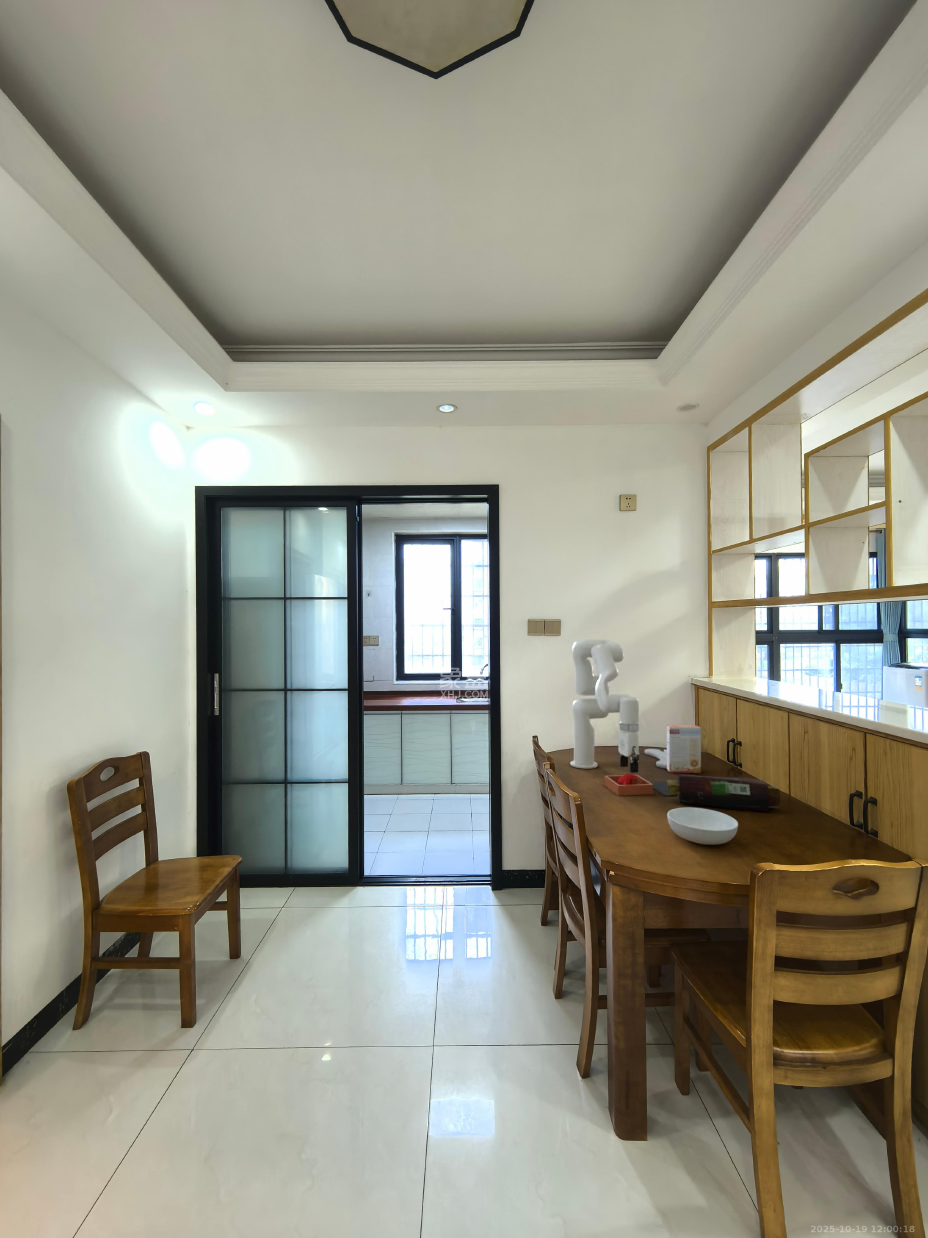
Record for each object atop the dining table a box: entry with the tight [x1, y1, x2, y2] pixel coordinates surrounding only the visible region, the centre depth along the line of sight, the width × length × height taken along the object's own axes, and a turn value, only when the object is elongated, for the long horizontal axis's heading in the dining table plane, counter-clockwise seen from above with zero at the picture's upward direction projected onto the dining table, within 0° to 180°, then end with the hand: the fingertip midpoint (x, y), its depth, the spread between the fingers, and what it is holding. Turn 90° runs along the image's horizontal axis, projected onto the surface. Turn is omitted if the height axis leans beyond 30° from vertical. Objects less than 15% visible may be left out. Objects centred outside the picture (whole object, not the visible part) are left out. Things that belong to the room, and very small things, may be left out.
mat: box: [649, 781, 677, 797], centre depth 242 cm, size 18×14×1 cm
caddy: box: [603, 774, 654, 797], centre depth 241 cm, size 15×15×4 cm
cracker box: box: [666, 724, 702, 774], centre depth 270 cm, size 14×6×21 cm, turn 84°
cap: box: [618, 773, 638, 785], centre depth 241 cm, size 8×6×6 cm
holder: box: [644, 748, 667, 770], centre depth 290 cm, size 19×34×5 cm, turn 175°
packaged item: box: [666, 773, 781, 813], centre depth 222 cm, size 39×10×10 cm, turn 76°
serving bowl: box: [666, 806, 739, 846], centre depth 187 cm, size 21×21×7 cm
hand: (629, 769), depth 240 cm, fingers open, 9 cm apart
